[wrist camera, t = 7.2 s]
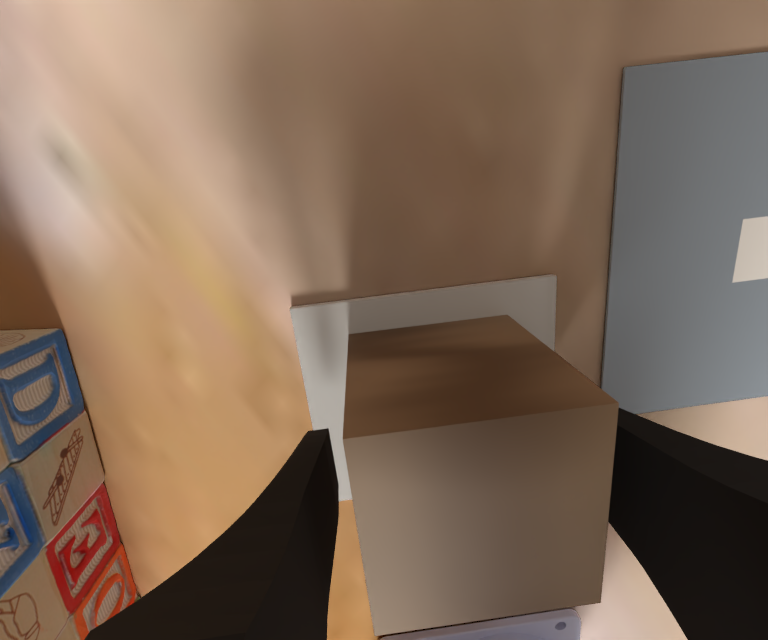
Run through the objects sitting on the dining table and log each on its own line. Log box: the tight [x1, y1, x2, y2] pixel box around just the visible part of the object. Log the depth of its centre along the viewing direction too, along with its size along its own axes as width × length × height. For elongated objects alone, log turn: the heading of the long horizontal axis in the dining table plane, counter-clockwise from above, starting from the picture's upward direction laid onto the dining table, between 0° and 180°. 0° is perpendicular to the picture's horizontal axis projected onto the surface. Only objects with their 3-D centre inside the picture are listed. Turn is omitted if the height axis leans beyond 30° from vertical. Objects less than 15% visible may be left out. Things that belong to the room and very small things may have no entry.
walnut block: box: [343, 315, 619, 636], centre depth 11 cm, size 6×6×6 cm
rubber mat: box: [290, 274, 557, 501], centre depth 14 cm, size 9×8×1 cm
